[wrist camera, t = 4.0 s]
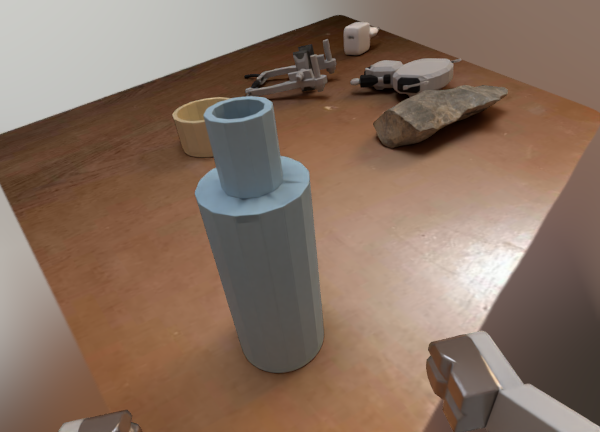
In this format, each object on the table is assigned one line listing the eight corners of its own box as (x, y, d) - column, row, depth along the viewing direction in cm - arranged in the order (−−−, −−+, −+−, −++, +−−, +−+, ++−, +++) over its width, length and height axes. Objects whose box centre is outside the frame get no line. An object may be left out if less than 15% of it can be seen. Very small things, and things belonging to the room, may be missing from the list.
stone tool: (535, 68, 50) (426, 106, 42) (532, 112, 53) (429, 157, 44) (455, 70, 60) (354, 101, 52) (456, 108, 63) (359, 143, 54)
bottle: (236, 375, 26) (156, 142, 16) (246, 305, 31) (189, 93, 21) (326, 370, 26) (302, 128, 16) (322, 300, 31) (301, 81, 21)
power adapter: (364, 43, 94) (364, 16, 91) (383, 44, 92) (383, 16, 88) (341, 55, 87) (340, 26, 84) (360, 56, 85) (360, 27, 81)
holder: (175, 160, 53) (164, 125, 50) (190, 132, 60) (181, 100, 57) (241, 154, 52) (234, 118, 49) (248, 127, 60) (242, 94, 57)
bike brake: (342, 70, 75) (249, 87, 82) (335, 33, 71) (238, 54, 78) (327, 97, 64) (222, 113, 72) (318, 55, 61) (208, 77, 68)
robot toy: (346, 100, 67) (431, 108, 58) (344, 73, 64) (432, 77, 55) (383, 79, 74) (463, 83, 65) (382, 53, 72) (465, 54, 63)
